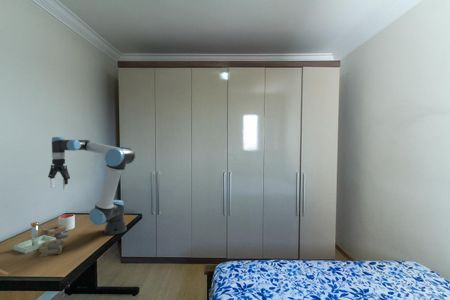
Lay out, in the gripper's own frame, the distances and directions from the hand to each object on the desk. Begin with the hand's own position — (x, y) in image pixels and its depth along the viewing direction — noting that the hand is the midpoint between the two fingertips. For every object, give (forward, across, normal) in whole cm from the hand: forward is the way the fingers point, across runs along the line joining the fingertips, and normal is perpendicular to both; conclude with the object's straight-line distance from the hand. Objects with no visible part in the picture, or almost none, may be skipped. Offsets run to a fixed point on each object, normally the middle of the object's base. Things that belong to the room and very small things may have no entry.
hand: (59, 188), depth 170 cm
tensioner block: (+33, 0, +4) cm, 33 cm away
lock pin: (+32, -8, +20) cm, 39 cm away
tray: (+33, -8, +20) cm, 39 cm away
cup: (+33, +3, -7) cm, 34 cm away
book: (+33, -23, +19) cm, 45 cm away
